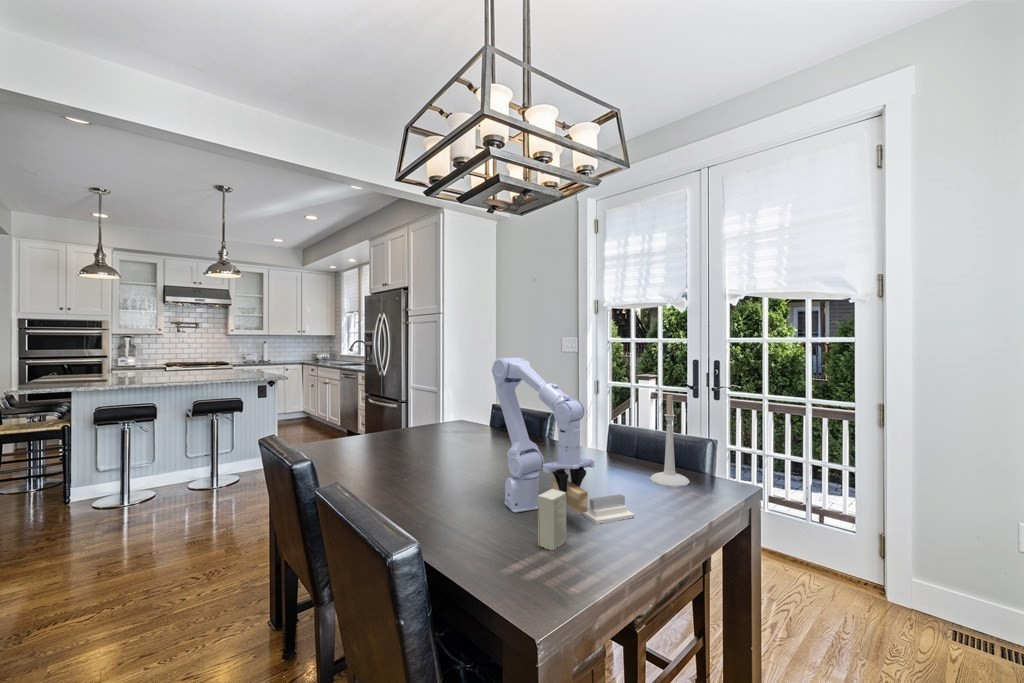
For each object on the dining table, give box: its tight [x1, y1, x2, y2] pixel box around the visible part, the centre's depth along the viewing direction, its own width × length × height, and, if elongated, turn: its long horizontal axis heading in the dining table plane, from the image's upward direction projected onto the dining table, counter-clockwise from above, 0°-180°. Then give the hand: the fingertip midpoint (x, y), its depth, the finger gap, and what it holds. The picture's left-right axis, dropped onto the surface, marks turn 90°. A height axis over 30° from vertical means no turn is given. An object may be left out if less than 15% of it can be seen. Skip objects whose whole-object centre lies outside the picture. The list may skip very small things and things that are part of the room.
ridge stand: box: [581, 493, 635, 525], centre depth 125 cm, size 12×8×5 cm, turn 112°
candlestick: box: [649, 394, 690, 488], centre depth 155 cm, size 13×13×30 cm
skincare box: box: [537, 488, 567, 551], centre depth 107 cm, size 6×4×12 cm
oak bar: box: [552, 476, 589, 514], centre depth 120 cm, size 3×14×5 cm, turn 22°
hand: (568, 496), depth 120 cm, fingers closed on oak bar, 3 cm apart
